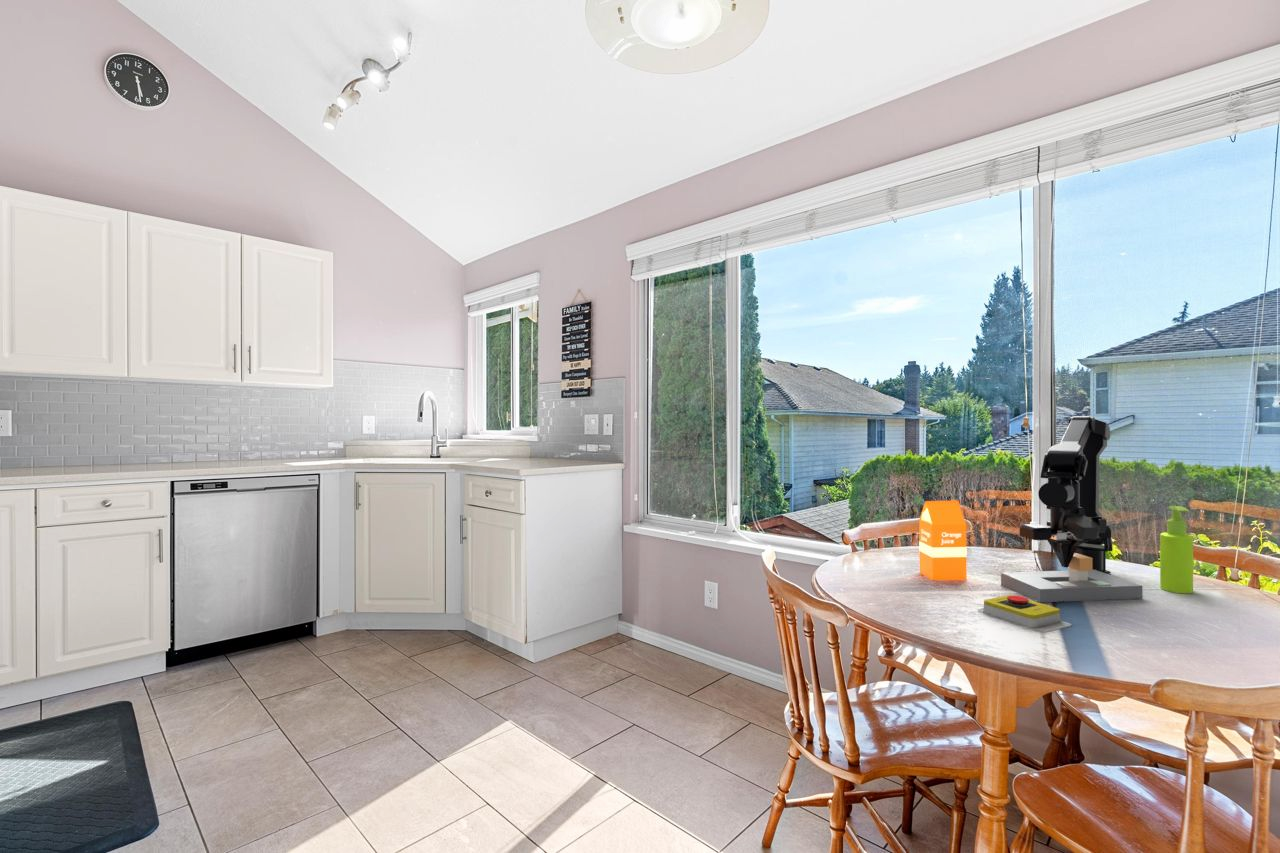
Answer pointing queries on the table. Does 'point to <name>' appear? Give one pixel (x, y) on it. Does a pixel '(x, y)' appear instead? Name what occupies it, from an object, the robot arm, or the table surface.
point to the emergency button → (1024, 613)
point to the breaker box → (1070, 586)
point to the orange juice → (942, 541)
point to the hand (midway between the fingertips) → (1065, 567)
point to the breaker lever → (1079, 567)
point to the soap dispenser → (1176, 555)
